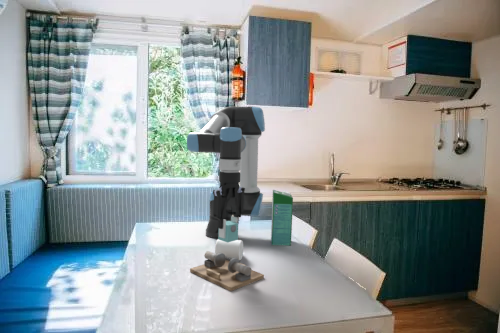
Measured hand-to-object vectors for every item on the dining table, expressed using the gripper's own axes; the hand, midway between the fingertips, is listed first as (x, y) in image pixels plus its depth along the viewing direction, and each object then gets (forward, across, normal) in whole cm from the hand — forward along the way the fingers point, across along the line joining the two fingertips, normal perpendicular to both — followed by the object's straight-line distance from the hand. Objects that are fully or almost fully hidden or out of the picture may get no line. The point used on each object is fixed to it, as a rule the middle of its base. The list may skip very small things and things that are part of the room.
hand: (228, 235), depth 124 cm
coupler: (+1, 0, 0) cm, 1 cm away
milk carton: (+14, +46, +12) cm, 50 cm away
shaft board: (+14, 0, 0) cm, 14 cm away
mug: (+15, +14, +13) cm, 24 cm away
